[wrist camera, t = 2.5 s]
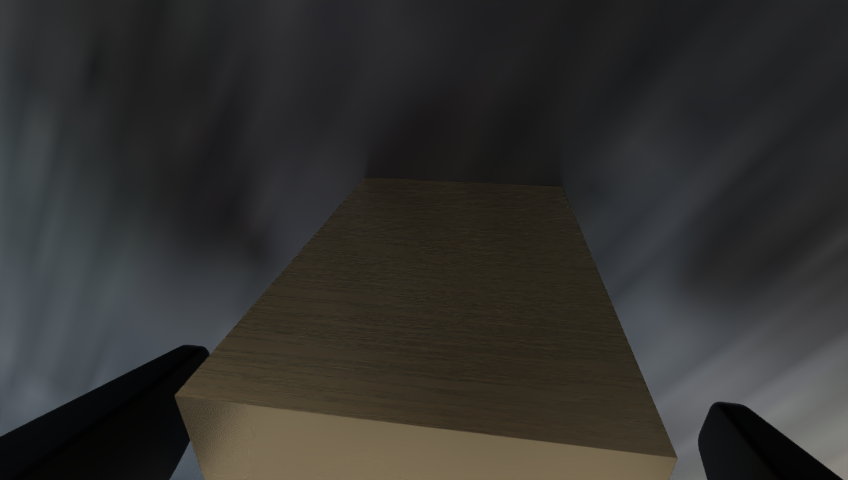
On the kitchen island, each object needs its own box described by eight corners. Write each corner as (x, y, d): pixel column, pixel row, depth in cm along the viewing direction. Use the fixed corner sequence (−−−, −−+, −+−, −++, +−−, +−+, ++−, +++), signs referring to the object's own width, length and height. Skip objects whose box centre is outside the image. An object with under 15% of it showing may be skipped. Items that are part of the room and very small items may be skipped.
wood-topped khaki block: (378, 387, 12) (281, 692, 6) (365, 177, 9) (174, 396, 4) (528, 405, 11) (559, 753, 6) (561, 185, 8) (677, 457, 3)
